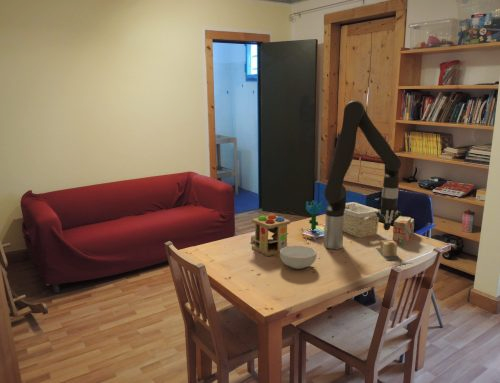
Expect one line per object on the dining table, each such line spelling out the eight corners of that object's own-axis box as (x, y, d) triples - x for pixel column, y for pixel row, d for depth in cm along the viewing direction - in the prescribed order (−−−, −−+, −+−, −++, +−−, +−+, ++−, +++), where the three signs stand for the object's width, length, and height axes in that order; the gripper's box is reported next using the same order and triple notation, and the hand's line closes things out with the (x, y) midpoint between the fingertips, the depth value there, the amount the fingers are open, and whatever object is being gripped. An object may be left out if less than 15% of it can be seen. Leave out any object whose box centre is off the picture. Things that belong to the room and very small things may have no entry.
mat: (387, 260, 197) (387, 260, 197) (375, 248, 214) (375, 248, 214) (401, 260, 197) (401, 260, 197) (389, 248, 214) (389, 247, 214)
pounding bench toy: (242, 244, 222) (241, 211, 219) (263, 238, 231) (263, 207, 227) (268, 256, 204) (268, 221, 200) (290, 250, 212) (291, 216, 208)
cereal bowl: (323, 268, 189) (324, 253, 188) (293, 275, 181) (294, 260, 180) (301, 256, 204) (301, 242, 202) (272, 263, 196) (272, 248, 194)
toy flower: (312, 235, 235) (313, 204, 231) (302, 231, 242) (302, 201, 238) (324, 233, 239) (325, 202, 236) (314, 229, 247) (314, 199, 243)
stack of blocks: (402, 232, 239) (403, 212, 237) (413, 234, 236) (415, 213, 233) (392, 243, 222) (393, 221, 219) (404, 245, 218) (405, 222, 216)
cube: (380, 251, 208) (384, 256, 203) (380, 240, 207) (384, 244, 201) (392, 251, 208) (396, 255, 203) (392, 240, 207) (397, 244, 201)
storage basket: (331, 228, 249) (332, 204, 246) (352, 224, 256) (353, 201, 253) (357, 239, 228) (359, 213, 225) (380, 235, 235) (381, 210, 232)
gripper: (379, 197, 199) (375, 232, 203) (406, 198, 200) (402, 232, 204) (373, 194, 207) (371, 227, 211) (400, 194, 207) (396, 227, 211)
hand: (386, 229), depth 207 cm, fingers closed
